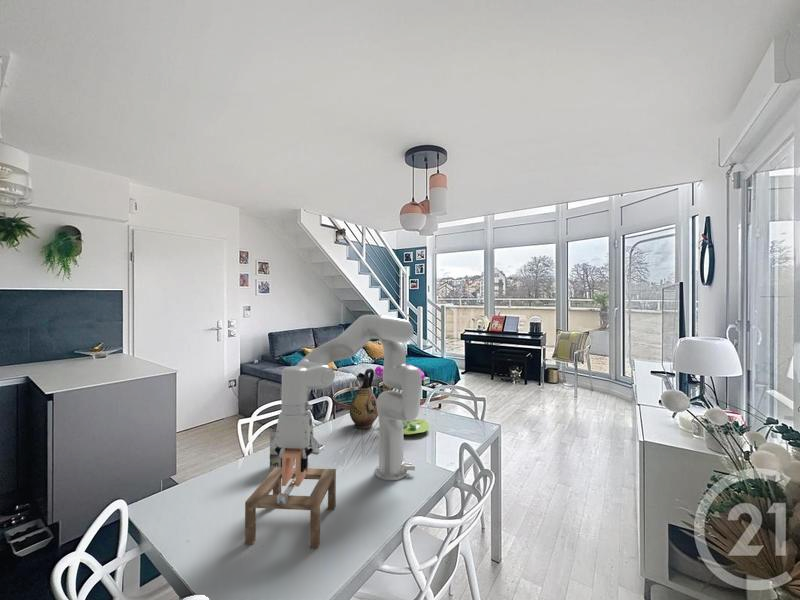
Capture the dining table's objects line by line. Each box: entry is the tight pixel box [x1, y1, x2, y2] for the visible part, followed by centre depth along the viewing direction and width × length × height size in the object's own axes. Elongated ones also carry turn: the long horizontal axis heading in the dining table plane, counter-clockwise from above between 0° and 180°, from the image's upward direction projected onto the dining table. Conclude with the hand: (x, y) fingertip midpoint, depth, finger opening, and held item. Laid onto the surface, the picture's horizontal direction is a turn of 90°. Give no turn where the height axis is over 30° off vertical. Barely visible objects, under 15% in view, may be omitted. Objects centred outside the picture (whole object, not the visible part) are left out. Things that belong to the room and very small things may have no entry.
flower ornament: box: [374, 363, 431, 435], centre depth 184 cm, size 30×28×35 cm
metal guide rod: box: [277, 462, 310, 504], centre depth 105 cm, size 2×20×2 cm, turn 176°
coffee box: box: [269, 426, 296, 473], centre depth 140 cm, size 9×6×16 cm
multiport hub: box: [308, 443, 325, 454], centre depth 158 cm, size 4×11×2 cm, turn 69°
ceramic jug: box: [349, 368, 378, 430], centre depth 189 cm, size 17×15×30 cm
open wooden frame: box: [244, 467, 337, 550], centre depth 105 cm, size 20×20×12 cm
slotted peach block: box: [281, 448, 306, 488], centre depth 105 cm, size 5×6×9 cm
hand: (294, 469), depth 105 cm, fingers closed on slotted peach block, 4 cm apart
